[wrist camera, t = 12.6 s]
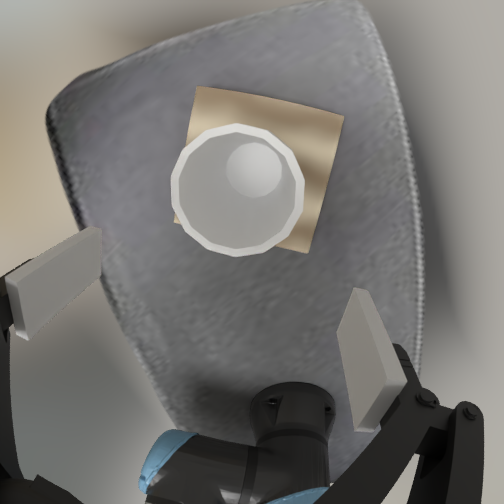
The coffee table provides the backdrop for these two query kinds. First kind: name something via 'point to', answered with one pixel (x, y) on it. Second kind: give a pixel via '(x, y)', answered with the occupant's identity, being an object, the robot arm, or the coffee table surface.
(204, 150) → the foam cup
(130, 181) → the coffee table surface
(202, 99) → the wooden base
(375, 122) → the coffee table surface
